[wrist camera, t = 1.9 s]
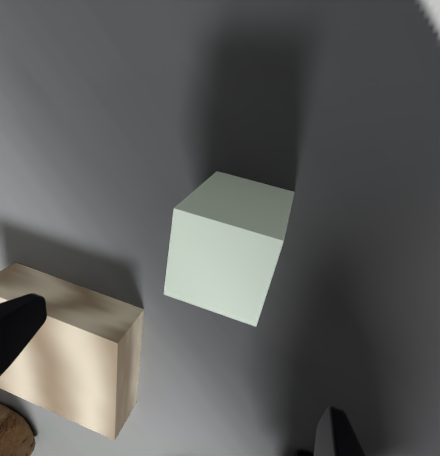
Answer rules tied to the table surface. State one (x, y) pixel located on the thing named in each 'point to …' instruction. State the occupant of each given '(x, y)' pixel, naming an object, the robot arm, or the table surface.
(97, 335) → the birch base block
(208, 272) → the sage block
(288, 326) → the table surface
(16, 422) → the block
